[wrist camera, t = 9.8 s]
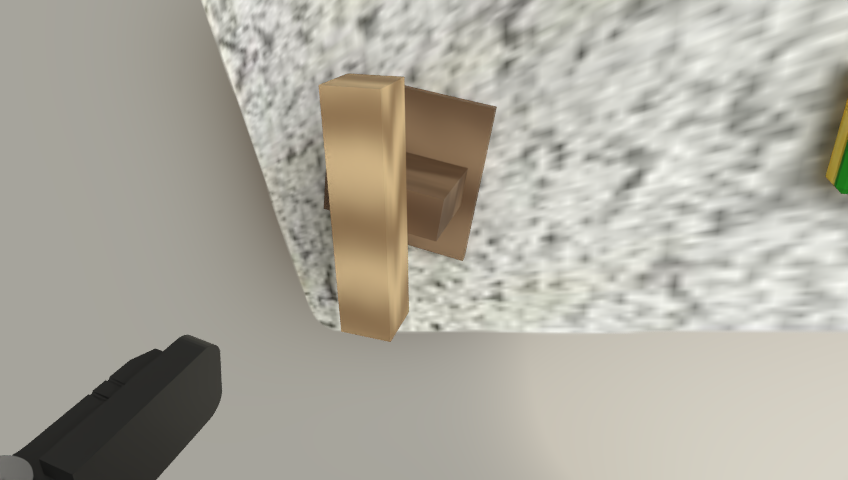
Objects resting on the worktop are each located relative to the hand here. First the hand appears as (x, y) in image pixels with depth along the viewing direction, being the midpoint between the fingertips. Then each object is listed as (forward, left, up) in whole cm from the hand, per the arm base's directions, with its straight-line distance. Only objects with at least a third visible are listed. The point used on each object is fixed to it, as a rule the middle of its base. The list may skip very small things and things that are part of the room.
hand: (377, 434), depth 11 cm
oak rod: (+6, -8, -21) cm, 24 cm away
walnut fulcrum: (+6, -8, -28) cm, 30 cm away
